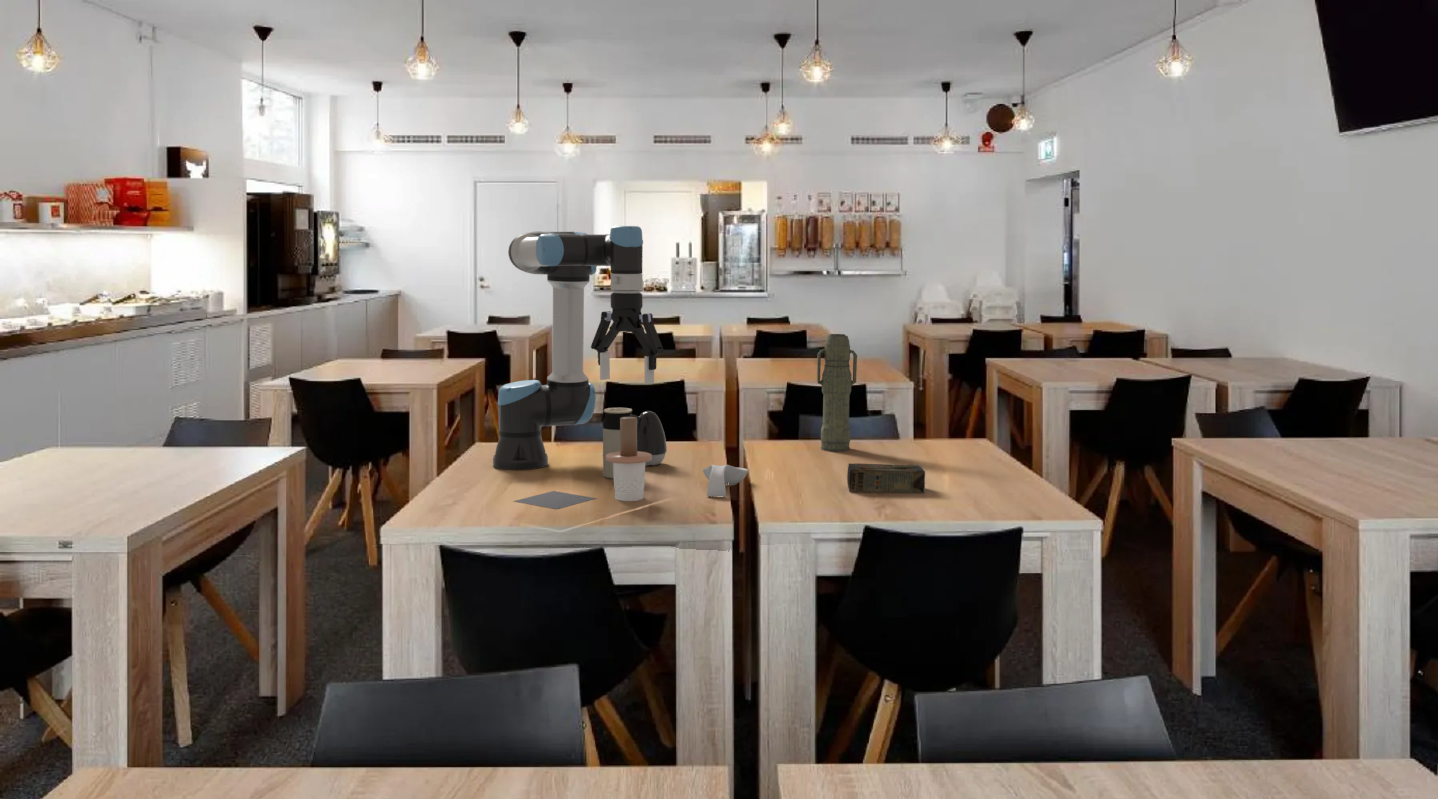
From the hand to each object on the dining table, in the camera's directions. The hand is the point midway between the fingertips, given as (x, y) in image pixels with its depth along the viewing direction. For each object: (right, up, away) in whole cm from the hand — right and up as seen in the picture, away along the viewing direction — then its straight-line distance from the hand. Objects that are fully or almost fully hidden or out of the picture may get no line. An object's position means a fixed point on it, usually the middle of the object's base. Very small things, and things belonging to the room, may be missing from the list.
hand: (626, 381), depth 262 cm
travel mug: (-5, -25, +31) cm, 40 cm away
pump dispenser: (+2, -23, +48) cm, 53 cm away
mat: (-17, -29, 0) cm, 33 cm away
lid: (0, -19, +2) cm, 19 cm away
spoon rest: (+23, -27, +18) cm, 40 cm away
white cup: (0, -29, +3) cm, 29 cm away
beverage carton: (+64, -28, +16) cm, 72 cm away
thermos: (+58, -20, +74) cm, 95 cm away
